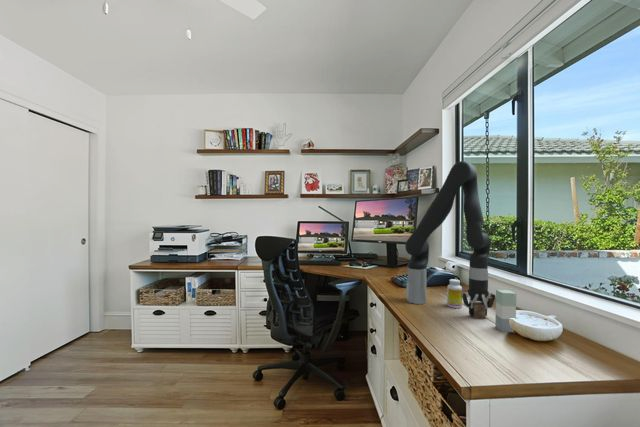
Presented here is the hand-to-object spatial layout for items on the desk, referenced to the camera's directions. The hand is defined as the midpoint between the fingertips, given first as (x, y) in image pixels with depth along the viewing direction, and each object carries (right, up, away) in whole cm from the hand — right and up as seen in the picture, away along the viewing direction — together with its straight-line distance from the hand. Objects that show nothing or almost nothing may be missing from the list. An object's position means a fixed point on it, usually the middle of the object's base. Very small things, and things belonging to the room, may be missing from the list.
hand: (477, 316), depth 128 cm
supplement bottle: (-4, -1, +14) cm, 15 cm away
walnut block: (0, 0, 0) cm, 0 cm away
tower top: (+4, +9, -13) cm, 17 cm away
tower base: (+4, -1, -13) cm, 14 cm away
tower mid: (+4, +4, -13) cm, 15 cm away
